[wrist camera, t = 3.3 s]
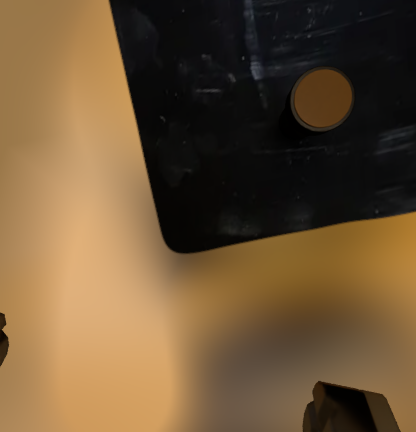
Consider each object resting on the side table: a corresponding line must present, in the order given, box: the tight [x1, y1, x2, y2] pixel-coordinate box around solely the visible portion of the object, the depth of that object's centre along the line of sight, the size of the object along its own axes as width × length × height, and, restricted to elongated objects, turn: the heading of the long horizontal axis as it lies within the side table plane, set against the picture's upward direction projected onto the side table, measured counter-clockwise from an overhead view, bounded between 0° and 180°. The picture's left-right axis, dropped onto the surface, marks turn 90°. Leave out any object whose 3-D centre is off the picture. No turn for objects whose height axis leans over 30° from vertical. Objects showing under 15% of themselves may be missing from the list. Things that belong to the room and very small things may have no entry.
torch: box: [279, 66, 355, 140], centre depth 29 cm, size 5×5×12 cm
